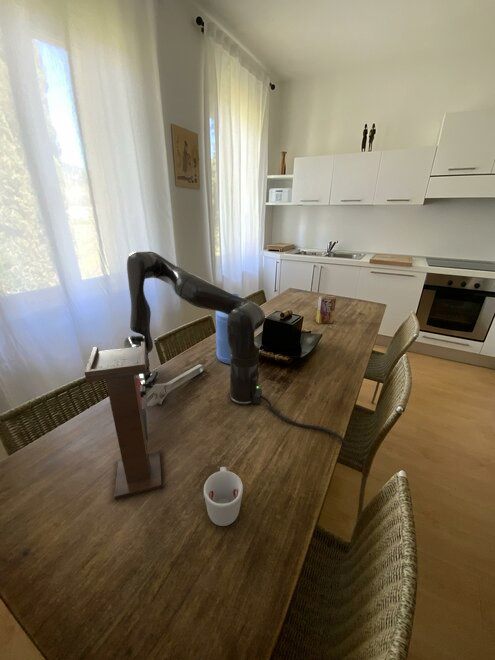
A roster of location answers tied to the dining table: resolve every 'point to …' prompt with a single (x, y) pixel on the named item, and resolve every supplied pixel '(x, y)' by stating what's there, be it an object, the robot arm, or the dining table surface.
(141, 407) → the black and white bar
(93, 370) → the stand
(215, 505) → the cup
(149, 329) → the robot arm
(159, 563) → the dining table surface
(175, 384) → the wrench
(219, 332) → the water jug
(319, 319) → the candy box
